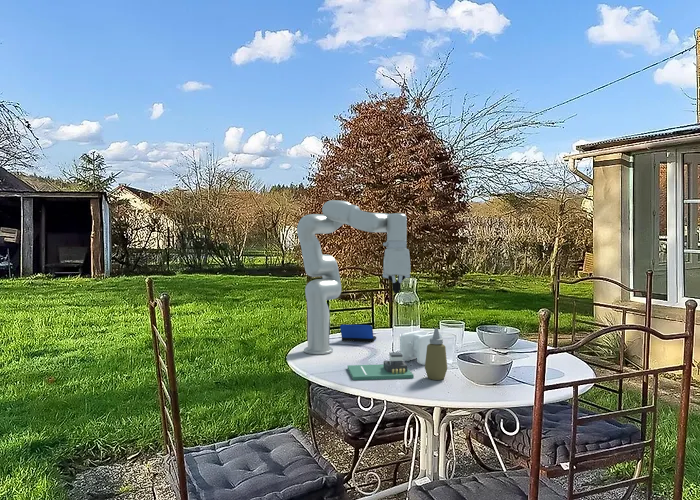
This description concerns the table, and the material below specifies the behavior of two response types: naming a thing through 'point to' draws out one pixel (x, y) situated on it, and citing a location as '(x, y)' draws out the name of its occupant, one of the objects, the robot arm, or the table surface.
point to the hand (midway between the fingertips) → (396, 292)
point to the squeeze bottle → (436, 358)
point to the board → (380, 371)
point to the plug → (395, 358)
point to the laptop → (357, 333)
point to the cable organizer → (415, 345)
